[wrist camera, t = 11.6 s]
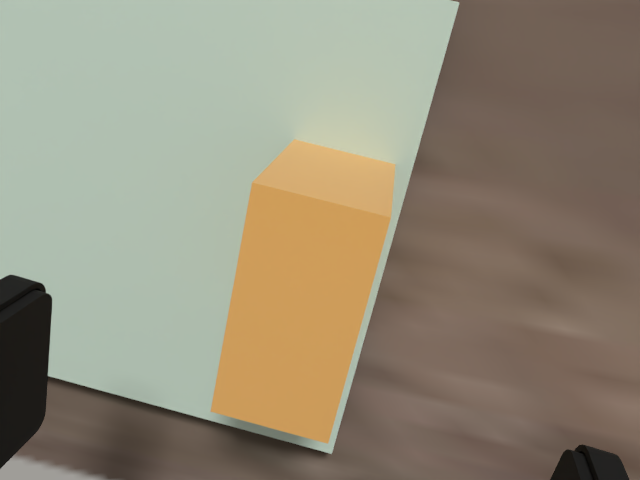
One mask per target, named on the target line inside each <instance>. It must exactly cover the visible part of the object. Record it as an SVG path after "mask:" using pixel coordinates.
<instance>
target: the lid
mask: <svg viewBox="0 0 640 480" xmlns="http://www.w3.org/2000/svg"><path fill="white" fill-rule="evenodd" d="M458 6H459V2H455V1H451V0H0V279H2V278H4V277H5V276H8V275H16V276H19V277H23V278H26V279H29V280H33V281H36V282H39V283H42V284H43V285H44V286H45V289H46V293H48V294H50V295H51V297H52V315H51V331H50V347H49V364H48V376H50V377H54V378H57V379H61V380H65V381H68V382H72V383H75V384H79V385H83V386H86V387H90V388H94V389H97V390H101V391H105V392H108V393H112V394H115V395H119V396H123V397H126V398H130V399H134V400H137V401H141V402H145V403H148V404H152V405H155V406H159V407H163V408H166V409H170V410H174V411H177V412H181V413H185V414H188V415H192V416H195V417H199V418H203V419H206V420H210V421H214V422H217V423H221V424H225V425H228V426H232V427H235V428H239V429H243V430H246V431H250V432H254V433H257V434H261V435H265V436H268V437H272V438H275V439H279V440H283V441H286V442H290V443H294V444H297V445H301V446H305V447H308V448H312V449H315V450H319V451H323V452H326V453H330V454H332V451H333V448H334V444H335V441H336V437H337V434H338V430H339V427H340V423H341V420H342V416H343V412H344V409H345V405H346V402H347V398H348V395H349V391H350V388H351V384H352V381H353V377H354V374H355V370H356V367H357V363H358V359H359V356H360V352H361V349H362V345H363V342H364V338H365V335H366V331H367V328H368V324H369V321H370V317H371V314H372V310H373V306H374V303H375V299H376V296H377V292H378V289H379V285H380V282H381V278H382V275H383V271H384V268H385V264H386V261H387V257H388V254H389V250H390V246H391V243H392V239H393V236H394V232H395V229H396V225H397V222H398V218H399V215H400V211H401V208H402V204H403V201H404V197H405V193H406V190H407V186H408V183H409V179H410V176H411V172H412V169H413V165H414V162H415V158H416V155H417V151H418V148H419V144H420V140H421V137H422V133H423V130H424V126H425V123H426V119H427V116H428V112H429V109H430V105H431V102H432V98H433V95H434V91H435V87H436V84H437V80H438V77H439V73H440V70H441V66H442V63H443V59H444V56H445V52H446V49H447V45H448V42H449V38H450V35H451V31H452V27H453V24H454V20H455V17H456V13H457V10H458Z"/></svg>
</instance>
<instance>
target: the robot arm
mask: <svg viewBox="0 0 640 480" xmlns="http://www.w3.org/2000/svg"><path fill="white" fill-rule="evenodd" d="M51 315H52V297H51V295H50V294H48V293H46V289H45V286H44V285H43V284H42V283H39V282H36V281H33V280H29V279H26V278H23V277H19V276H16V275H8V276H5V277H4V278H2V279H0V468H1V467H2V466H3V465H4V464H5V463H6V462H7V461H8V460H9V459H10V458H11V457H12V456H13V455H14V454H15V453H16V452H17V451H18V450H19V449H20V448H21V447H22V446H23V445H24V444H25V443H26V442H27V441H28V440H29V439H30V438H31V437H32V436H33V435H34V434H35V433H36V432H37V431H38V429H39V428H40V426H41V424H42V422H43V420H44V417H45V411H46V396H47V380H48V364H49V347H50V331H51ZM550 480H629V478H628V475H627V473H626V471H625V468H624V466H623V464H622V462H621V460H620V458H619V457H618V456H617V455H615V454H613V453H609V452H606V451H603V450H599V449H596V448H592V447H589V446H586V445H579V446H578V447H577V448H576V449H575V451H572V450H566V451H565V452H564V453H563V454H562V456H561V458H560V460H559V462H558V465H557V467H556V469H555V471H554V473H553V475H552V477H551V479H550Z"/></svg>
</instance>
